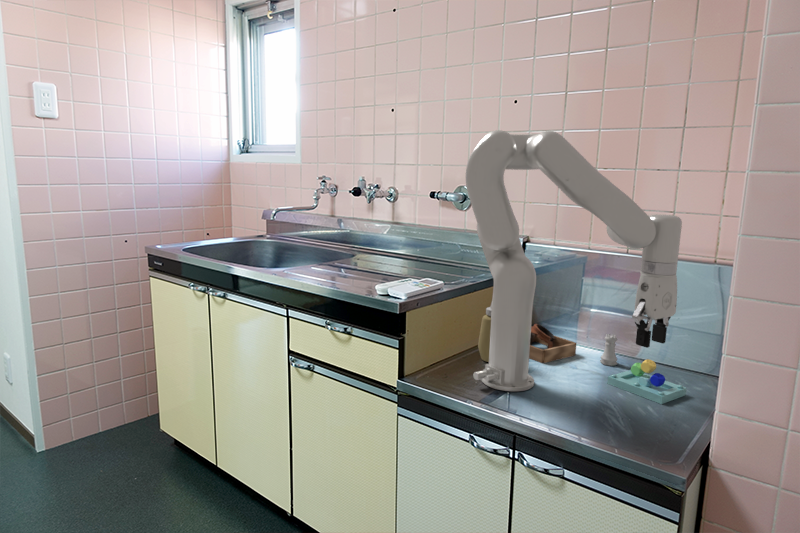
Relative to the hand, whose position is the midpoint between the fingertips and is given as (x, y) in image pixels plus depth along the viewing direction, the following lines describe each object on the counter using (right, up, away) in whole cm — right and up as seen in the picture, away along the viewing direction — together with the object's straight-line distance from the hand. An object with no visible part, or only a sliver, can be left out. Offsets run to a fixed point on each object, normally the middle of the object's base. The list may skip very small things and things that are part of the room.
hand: (650, 343), depth 127 cm
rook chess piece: (-2, -9, +19) cm, 21 cm away
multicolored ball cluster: (0, -11, +2) cm, 11 cm away
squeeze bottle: (-34, -8, +20) cm, 40 cm away
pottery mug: (-20, -6, +30) cm, 37 cm away
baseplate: (0, -11, +2) cm, 12 cm away
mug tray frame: (-19, -6, +28) cm, 35 cm away
